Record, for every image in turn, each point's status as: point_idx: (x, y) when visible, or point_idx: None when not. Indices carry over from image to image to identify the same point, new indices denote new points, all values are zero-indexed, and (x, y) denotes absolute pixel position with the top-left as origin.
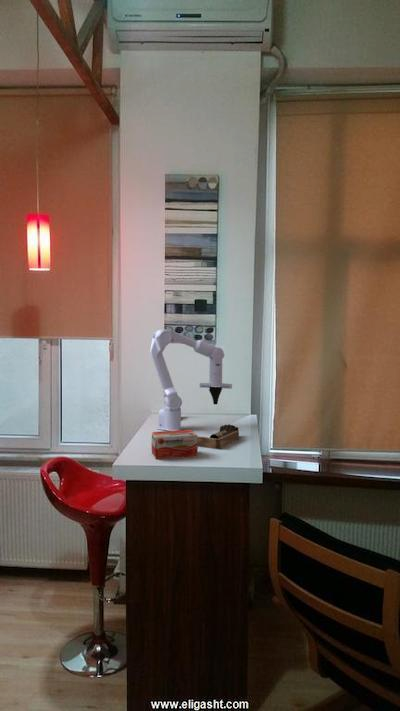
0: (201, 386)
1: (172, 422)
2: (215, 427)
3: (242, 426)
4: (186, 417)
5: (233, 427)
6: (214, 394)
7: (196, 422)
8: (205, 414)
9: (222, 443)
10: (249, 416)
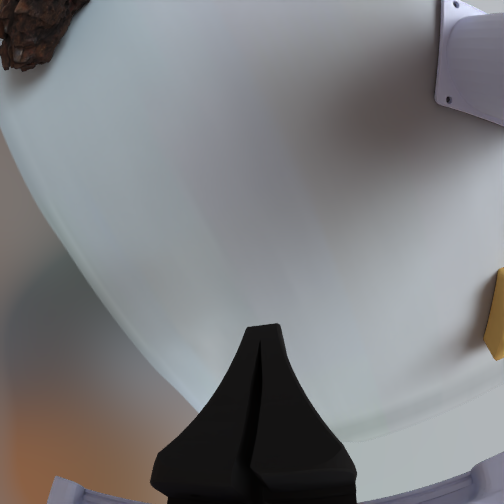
0: (485, 476)
1: (496, 13)
2: (261, 214)
3: (141, 297)
4: (462, 349)
5: (8, 25)
6: (261, 416)
7: (411, 288)
8: (393, 411)
9: None
10: None
